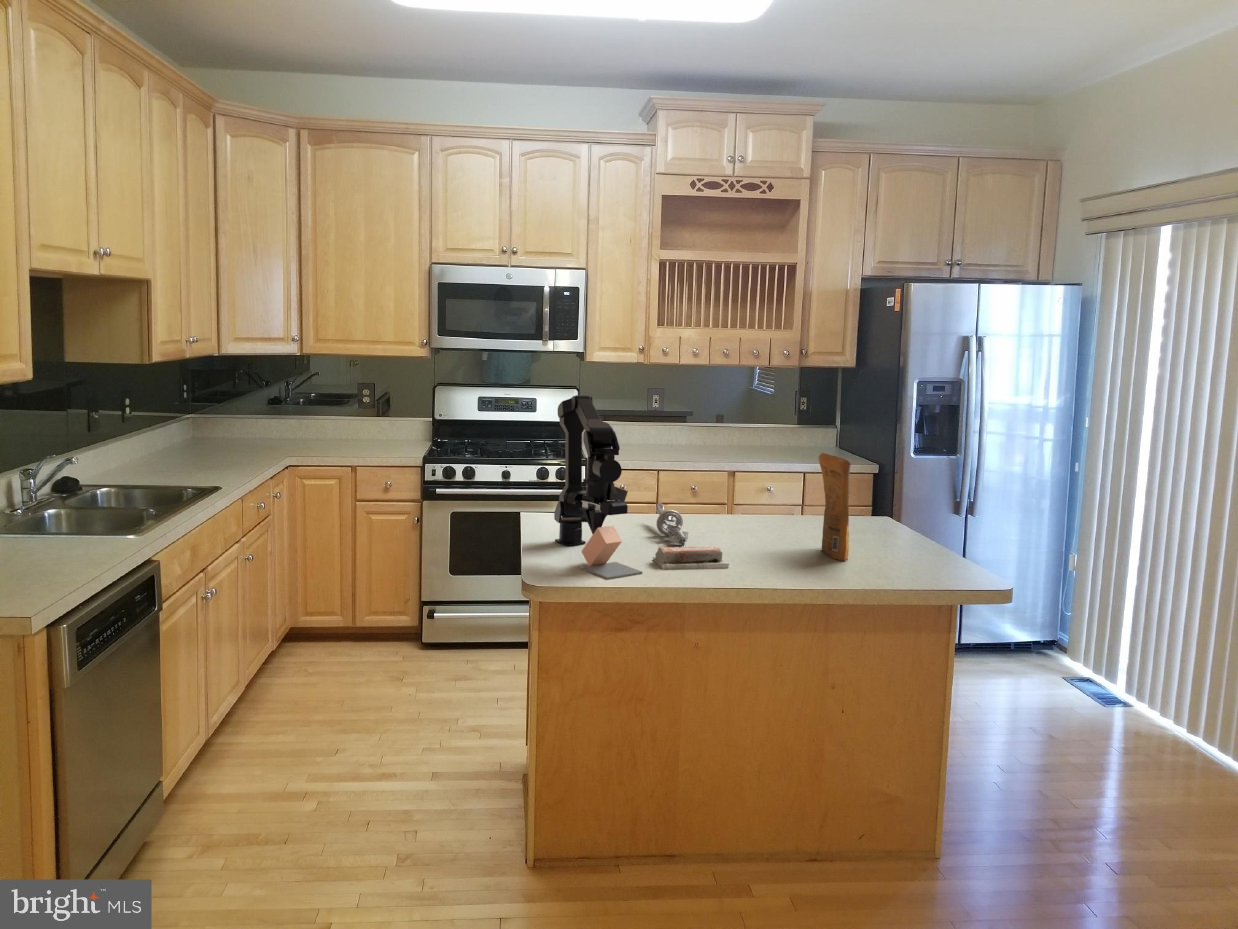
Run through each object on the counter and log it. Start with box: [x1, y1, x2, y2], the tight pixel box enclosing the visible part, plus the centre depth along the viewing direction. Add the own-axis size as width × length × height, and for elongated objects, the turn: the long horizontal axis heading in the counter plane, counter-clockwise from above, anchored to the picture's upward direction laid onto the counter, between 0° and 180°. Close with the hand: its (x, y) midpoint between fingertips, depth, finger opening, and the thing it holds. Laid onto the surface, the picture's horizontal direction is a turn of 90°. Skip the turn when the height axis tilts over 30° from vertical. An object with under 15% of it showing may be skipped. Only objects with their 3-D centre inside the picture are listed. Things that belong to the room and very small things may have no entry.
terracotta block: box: [581, 525, 623, 566], centre depth 253 cm, size 5×5×10 cm
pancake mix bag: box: [818, 452, 852, 562], centre depth 277 cm, size 7×19×28 cm, turn 6°
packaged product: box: [652, 546, 730, 570], centre depth 261 cm, size 18×5×10 cm
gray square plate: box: [580, 561, 643, 580], centre depth 250 cm, size 11×11×1 cm
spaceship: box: [655, 502, 689, 547], centre depth 292 cm, size 8×35×8 cm
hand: (595, 535), depth 255 cm, fingers closed
